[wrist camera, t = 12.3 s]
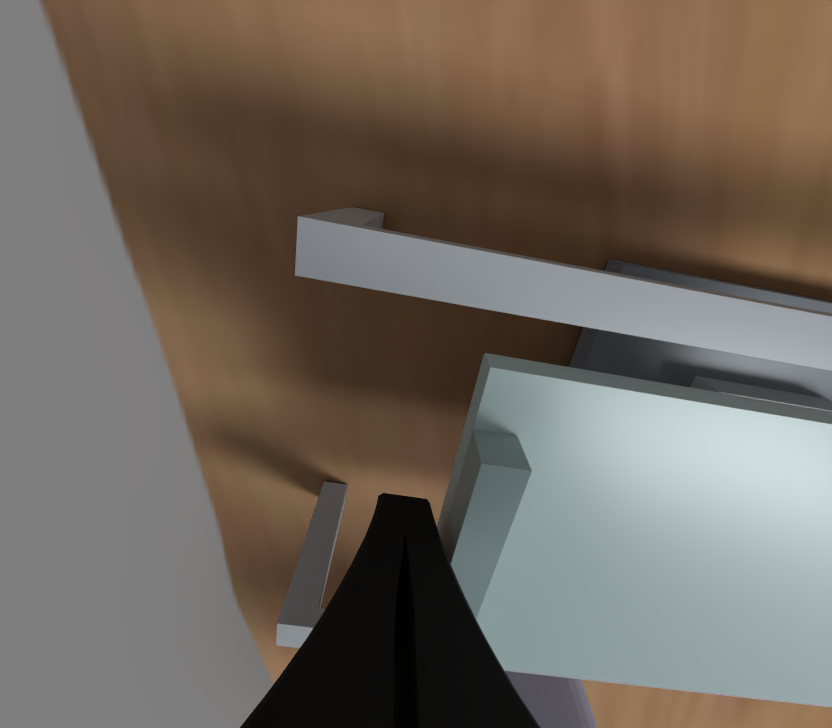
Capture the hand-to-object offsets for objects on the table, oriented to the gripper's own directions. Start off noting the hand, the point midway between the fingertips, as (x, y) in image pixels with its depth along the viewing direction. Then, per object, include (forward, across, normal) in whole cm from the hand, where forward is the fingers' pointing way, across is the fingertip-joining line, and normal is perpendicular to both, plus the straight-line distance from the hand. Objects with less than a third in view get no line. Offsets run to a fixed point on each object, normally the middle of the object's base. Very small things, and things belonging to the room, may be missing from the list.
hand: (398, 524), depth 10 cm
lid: (0, -9, 0) cm, 9 cm away
